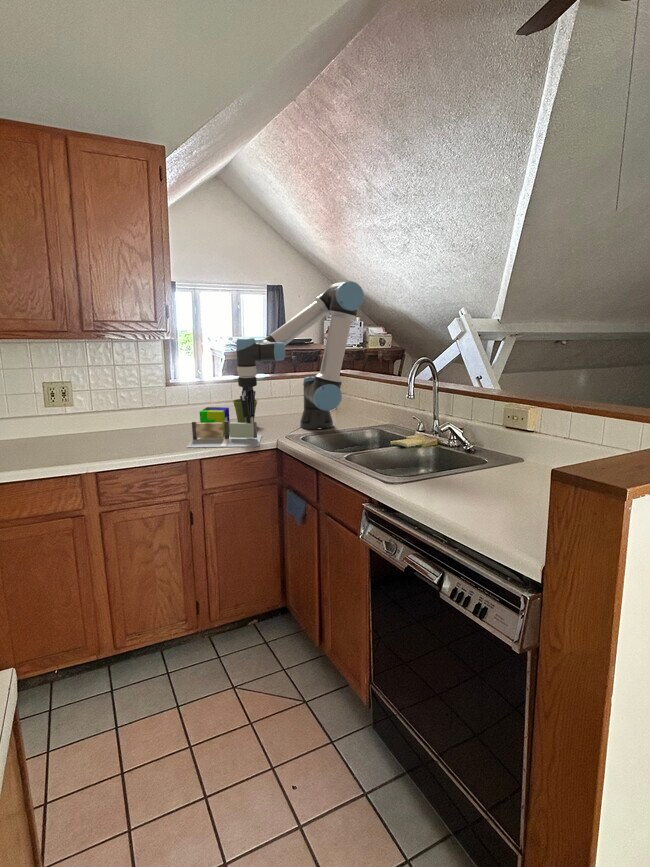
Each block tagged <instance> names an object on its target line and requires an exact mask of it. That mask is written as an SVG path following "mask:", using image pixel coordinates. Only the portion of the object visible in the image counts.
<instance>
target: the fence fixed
mask: <svg viewBox="0 0 650 867" xmlns="http://www.w3.org/2000/svg"><path fill="white" fill-rule="evenodd" d="M191 429H192V430H191V431H192V432H191V433H192V440H193V439H194V440H196V439H197V438H214V437H224V435H225V439H229V435H230V430H229V422H228V421H225V422H224V430H225V434H223V423H200V422H197V421H191Z"/></svg>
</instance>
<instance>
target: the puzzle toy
mask: <svg viewBox="0 0 650 867" xmlns="http://www.w3.org/2000/svg"><path fill="white" fill-rule="evenodd" d="M225 421H228V422H229V431H230V423H231V421H230V407H225V406H224V407H222V406H221V407H217V406H216V407H215V406H214V407H213V406H207V407H205V408H203V409H202V410H200V411H199V423H223V434H224V435H225V430H224V422H225Z"/></svg>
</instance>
